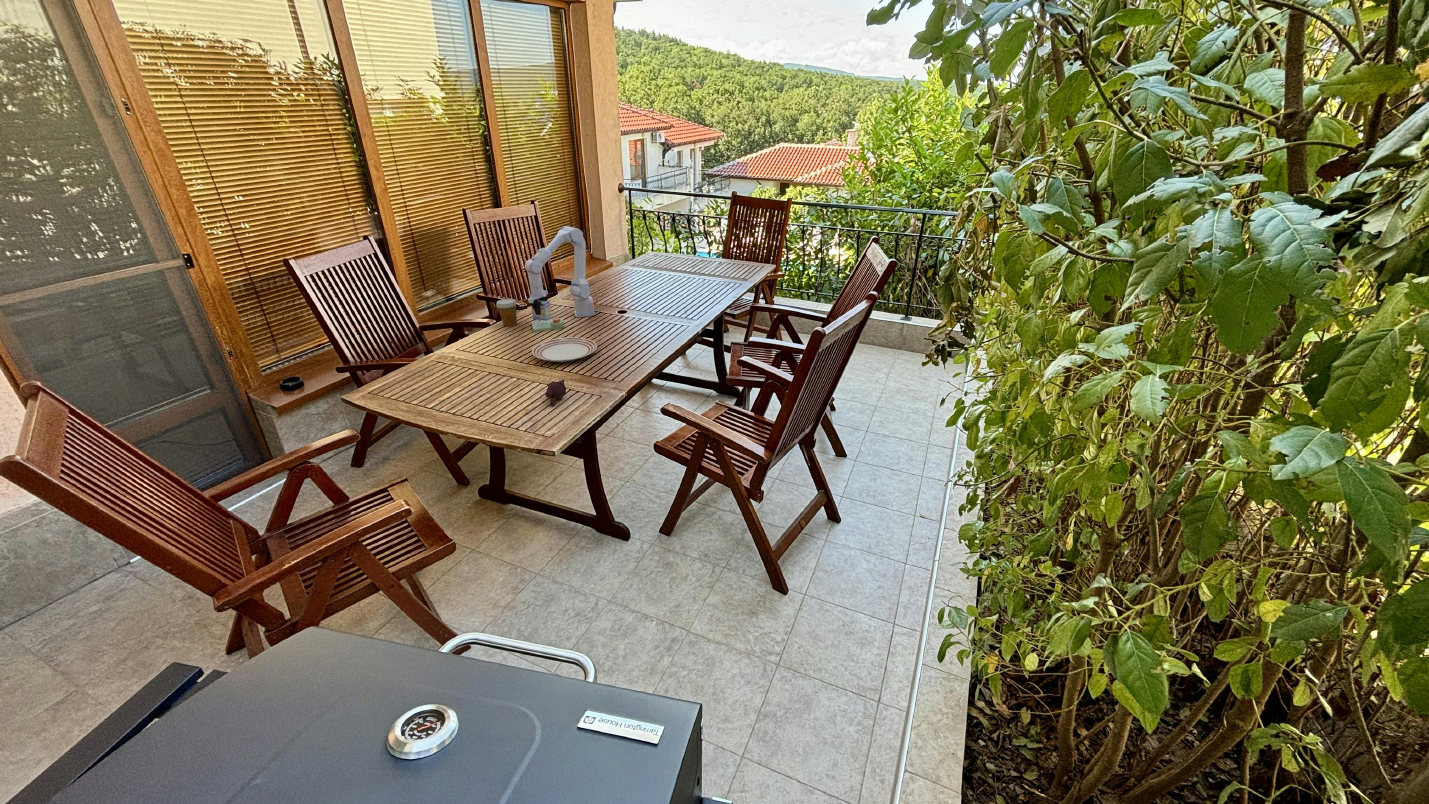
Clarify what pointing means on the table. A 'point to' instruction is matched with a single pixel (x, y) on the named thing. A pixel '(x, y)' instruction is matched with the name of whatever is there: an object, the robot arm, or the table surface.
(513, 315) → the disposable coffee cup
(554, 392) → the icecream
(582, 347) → the dinner plate
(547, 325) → the scale
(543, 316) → the medicine box
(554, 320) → the power button
